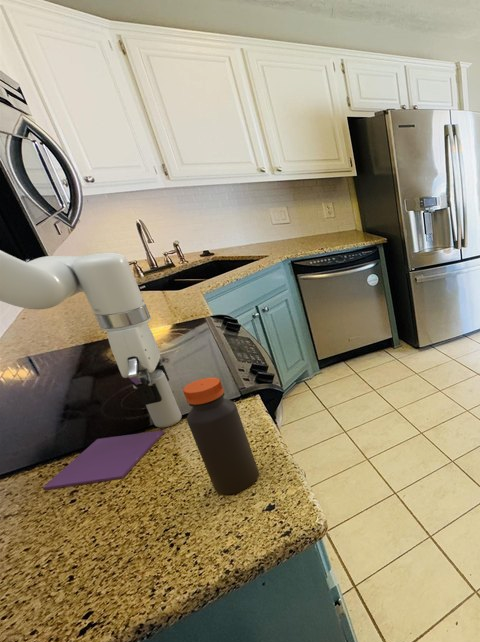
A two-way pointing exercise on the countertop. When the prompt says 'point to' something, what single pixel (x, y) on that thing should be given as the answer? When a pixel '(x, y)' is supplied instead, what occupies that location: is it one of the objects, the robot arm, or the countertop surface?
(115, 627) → the countertop surface
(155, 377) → the beverage can
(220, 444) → the bottle
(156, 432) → the cloth
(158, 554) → the countertop surface
